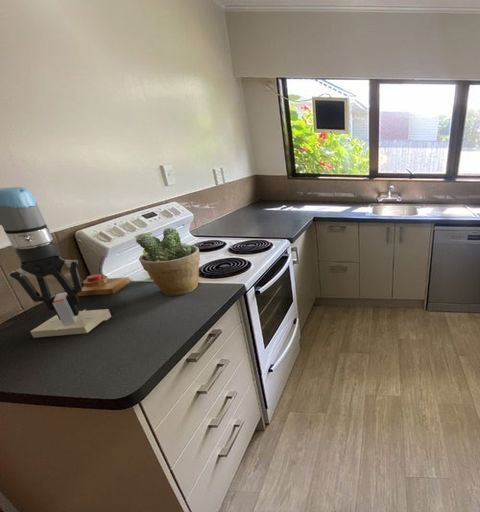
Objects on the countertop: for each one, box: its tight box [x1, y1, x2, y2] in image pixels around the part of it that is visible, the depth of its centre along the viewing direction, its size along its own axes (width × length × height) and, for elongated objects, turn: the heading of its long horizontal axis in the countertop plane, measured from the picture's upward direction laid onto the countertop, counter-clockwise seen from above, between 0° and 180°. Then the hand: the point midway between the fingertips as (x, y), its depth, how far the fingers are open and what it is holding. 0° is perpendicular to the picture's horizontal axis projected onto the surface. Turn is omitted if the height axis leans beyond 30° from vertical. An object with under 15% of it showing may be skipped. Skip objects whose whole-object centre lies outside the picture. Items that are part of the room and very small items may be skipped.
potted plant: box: [135, 227, 201, 297], centre depth 109 cm, size 18×19×25 cm
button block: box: [76, 274, 131, 297], centre depth 113 cm, size 12×10×4 cm
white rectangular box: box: [52, 291, 78, 326], centre depth 88 cm, size 7×2×8 cm, turn 40°
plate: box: [29, 308, 112, 339], centre depth 90 cm, size 14×11×3 cm
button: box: [86, 273, 102, 282], centre depth 113 cm, size 4×4×2 cm
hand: (69, 315), depth 89 cm, fingers closed on white rectangular box, 2 cm apart
